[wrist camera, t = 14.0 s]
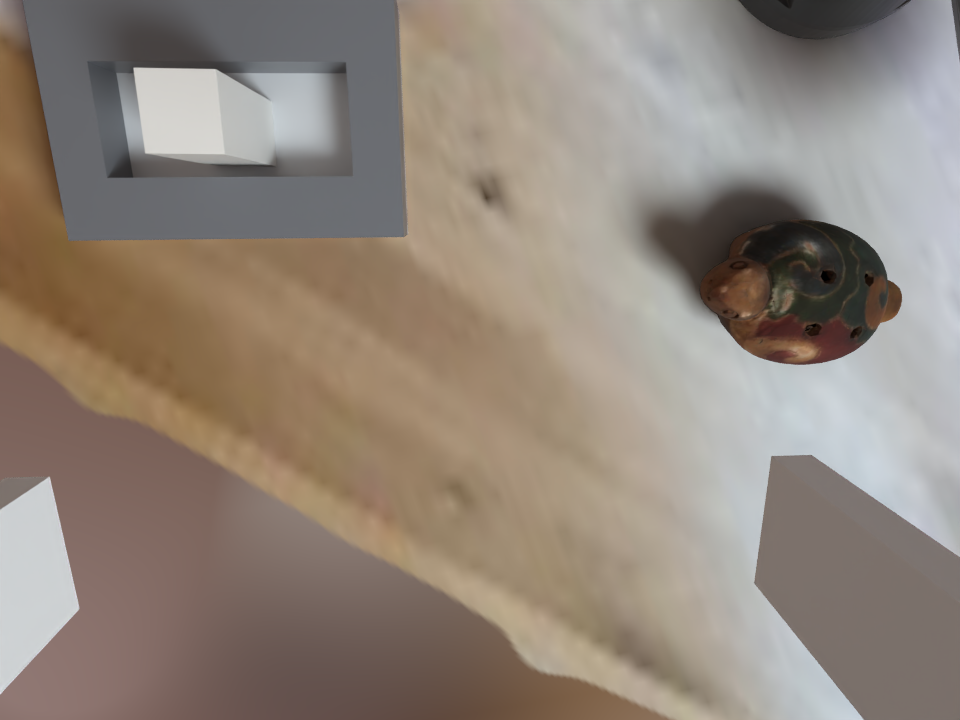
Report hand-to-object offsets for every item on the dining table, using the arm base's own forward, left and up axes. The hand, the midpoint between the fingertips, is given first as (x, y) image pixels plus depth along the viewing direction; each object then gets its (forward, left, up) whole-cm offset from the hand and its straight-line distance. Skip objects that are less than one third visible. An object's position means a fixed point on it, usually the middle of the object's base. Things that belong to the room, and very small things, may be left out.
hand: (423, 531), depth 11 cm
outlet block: (+13, -11, -32) cm, 36 cm away
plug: (+13, -11, -31) cm, 35 cm away
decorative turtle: (-24, 0, -32) cm, 40 cm away
